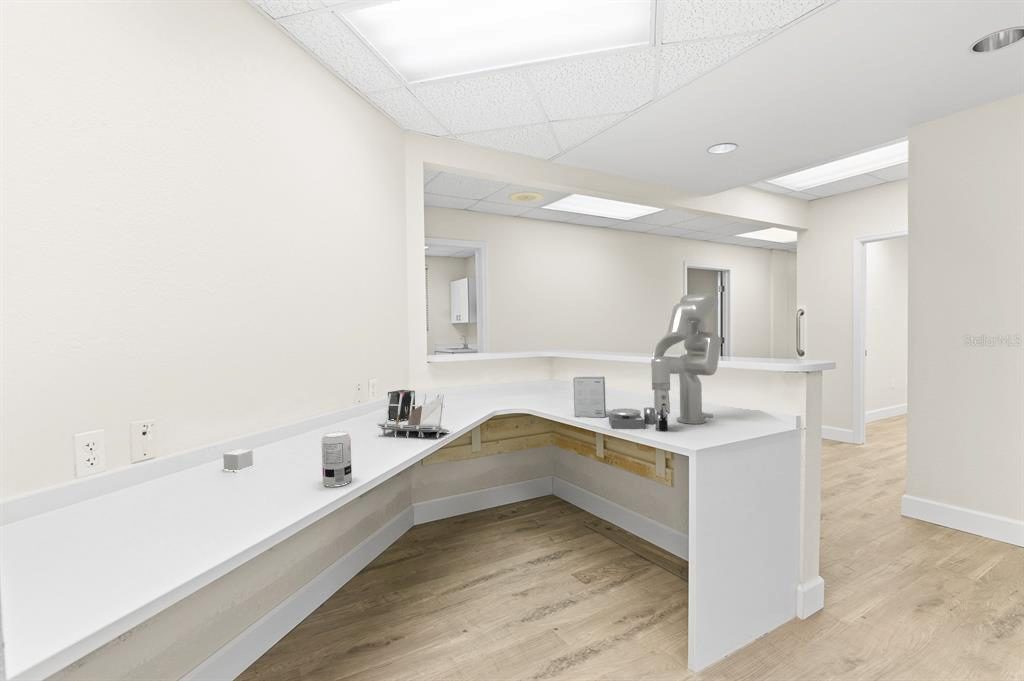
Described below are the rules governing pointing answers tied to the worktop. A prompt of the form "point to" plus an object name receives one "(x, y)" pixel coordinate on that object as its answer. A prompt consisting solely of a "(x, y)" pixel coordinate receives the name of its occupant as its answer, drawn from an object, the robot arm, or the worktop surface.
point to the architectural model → (418, 417)
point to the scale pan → (626, 412)
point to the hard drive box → (589, 396)
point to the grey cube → (238, 459)
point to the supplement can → (336, 458)
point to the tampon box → (404, 404)
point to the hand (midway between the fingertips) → (661, 427)
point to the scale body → (626, 422)
